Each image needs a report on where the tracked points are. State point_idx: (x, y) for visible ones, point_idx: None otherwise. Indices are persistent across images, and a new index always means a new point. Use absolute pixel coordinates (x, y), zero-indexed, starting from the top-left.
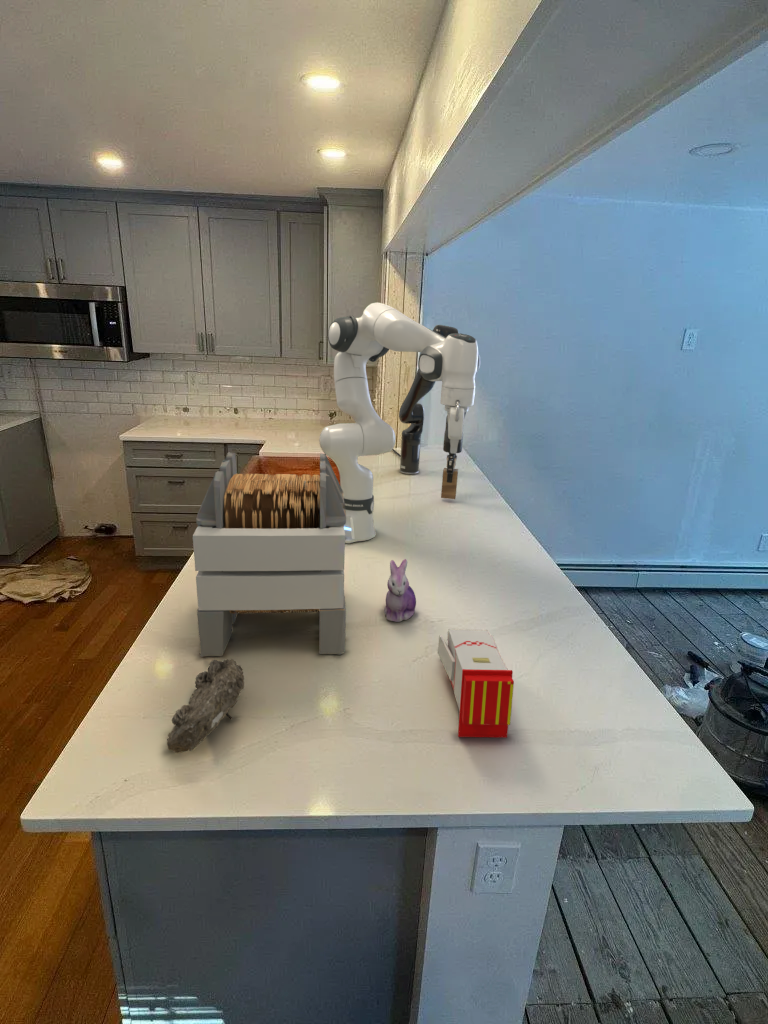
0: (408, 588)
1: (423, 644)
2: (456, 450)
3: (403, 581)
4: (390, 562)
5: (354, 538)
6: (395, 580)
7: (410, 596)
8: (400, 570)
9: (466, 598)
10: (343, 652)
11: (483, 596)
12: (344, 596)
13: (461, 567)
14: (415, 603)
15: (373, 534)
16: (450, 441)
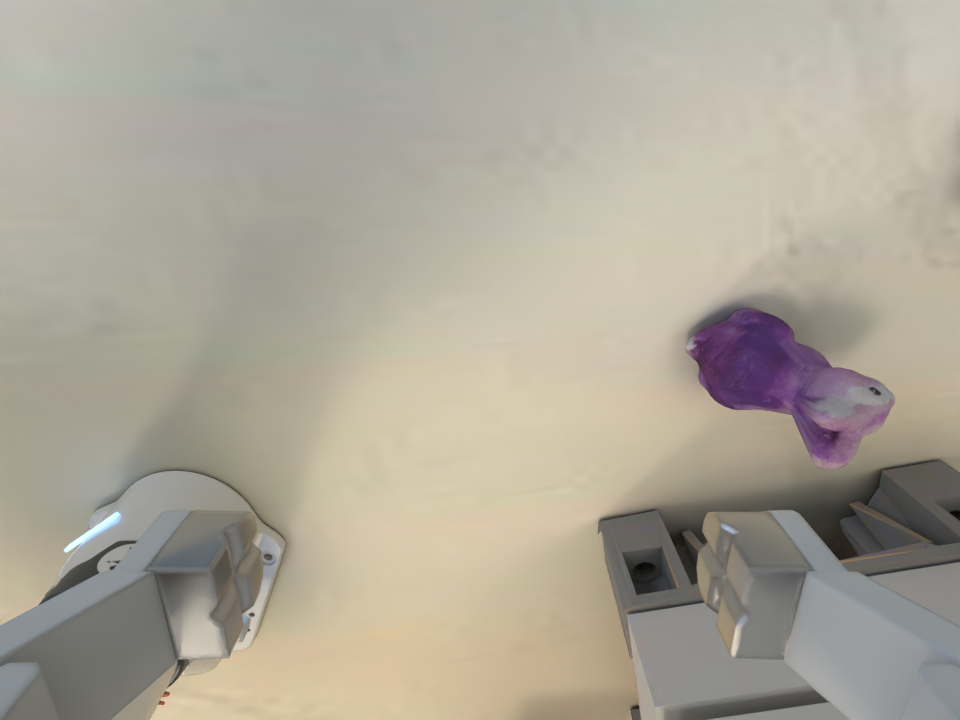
0: (783, 358)
1: (918, 272)
2: (811, 538)
3: (880, 397)
4: (837, 468)
5: (260, 533)
6: (881, 425)
7: (795, 343)
8: (861, 423)
9: (631, 130)
10: (945, 463)
11: (609, 60)
12: (945, 546)
13: (370, 142)
14: (772, 316)
15: (194, 481)
16: (241, 620)
